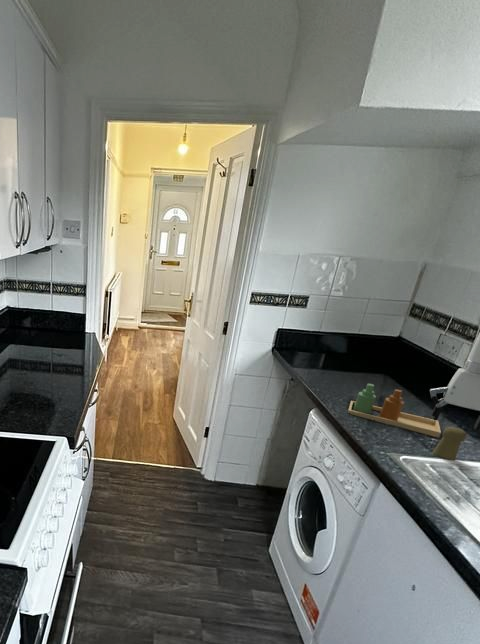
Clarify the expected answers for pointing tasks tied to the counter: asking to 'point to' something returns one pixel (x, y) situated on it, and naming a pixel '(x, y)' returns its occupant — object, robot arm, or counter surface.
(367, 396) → the green bottle
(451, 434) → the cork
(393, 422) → the tray
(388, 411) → the amber bottle
